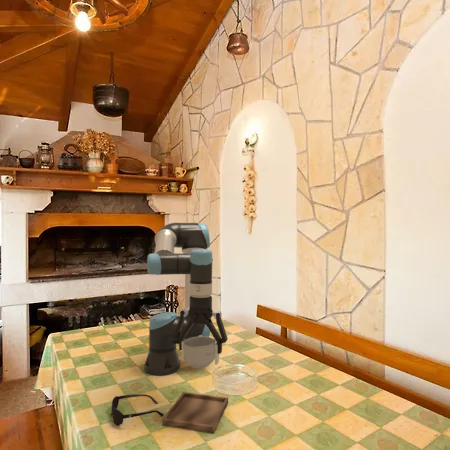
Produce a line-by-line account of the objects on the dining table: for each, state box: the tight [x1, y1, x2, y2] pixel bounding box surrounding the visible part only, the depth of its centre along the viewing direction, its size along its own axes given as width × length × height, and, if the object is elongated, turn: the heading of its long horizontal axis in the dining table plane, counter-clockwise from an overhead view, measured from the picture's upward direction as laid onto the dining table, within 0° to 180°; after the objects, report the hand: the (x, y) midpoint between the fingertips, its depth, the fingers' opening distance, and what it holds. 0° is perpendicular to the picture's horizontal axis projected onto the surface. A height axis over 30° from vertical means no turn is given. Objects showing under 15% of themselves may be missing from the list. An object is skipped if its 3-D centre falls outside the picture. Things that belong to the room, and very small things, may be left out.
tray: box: [161, 391, 229, 434], centre depth 116 cm, size 17×19×2 cm
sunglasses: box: [111, 393, 165, 427], centre depth 115 cm, size 14×16×5 cm
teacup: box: [182, 335, 216, 369], centre depth 118 cm, size 14×11×8 cm
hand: (200, 361), depth 118 cm, fingers closed on teacup, 11 cm apart
